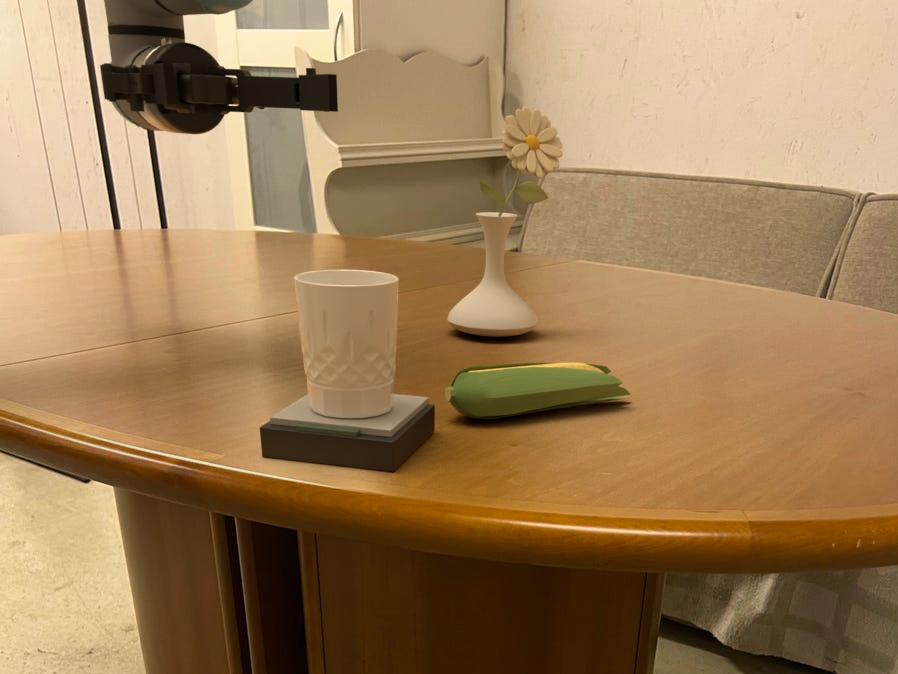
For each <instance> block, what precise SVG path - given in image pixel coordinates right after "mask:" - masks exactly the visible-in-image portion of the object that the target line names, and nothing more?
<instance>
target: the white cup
mask: <svg viewBox="0 0 898 674" xmlns="http://www.w3.org/2000/svg"><path fill="white" fill-rule="evenodd" d="M399 279H400V278H399V277H398V276H397V275H395V274H392V273H387V272H383V271H375V270H364V269H322V270H309V271H305V272H300V273H298V274H295V275H294V276H293V282H294V291H295V301H296V310H297V319H298V320H297V321H298V329H299V339H300V346H301V352H302V362H303V369H304V375H305V377H306V388H307V394H308V399H309V406H310V408H311V409H312V410H313V412H315V413H318V414H320V415H324V416H328V417H334V418H367V417H374V416H379V415H382V414H385V413H387V412H389V411H390V410H391V409H392V407H393V404H394V394H395V379H394V377H395V375H396V367H397V346H398V322H399V321H398V317H399V286H400V285H399V284H400V282H399V281H400V280H399Z"/></svg>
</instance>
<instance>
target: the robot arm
mask: <svg viewBox="0 0 898 674" xmlns="http://www.w3.org/2000/svg"><path fill="white" fill-rule="evenodd" d="M103 1H104V2H103V3H104V8H105V9H104V10H105V17H106V23H107V32H108V33H107V37H108V43H109V44H108V46H109V50H110V51H109V52H110V59H111V62H103V63H102V64H100V65H99V68H100V75H101V76H100V77H101V83H102V91H103V97H104V100H106V101H108V102H111V104H112V106H113V108H114V109H115V110H116V112H118V114H119V115H120V116H121V117H122V118H123V119H125V120H126V121H127V122H129V123H130V124H133V125H135V126H136V127H138V128H141V129H143V130H145V131H155V132H158V131H159V132H166V133H171V134H183V135H187V134H188V135H202V134H206V133H209V132H211V131H212V130H213V129H215V128H216V127H218V126H219V125H220V123H221V122H222V120H223V119H224V117H225V116H226V115H229V113H252V112H253V111H254V109H255V108H256V109H258V110H265V109H266V108H267V109H268V108H269V109H291V110H294V109H295V110H296V109H297V110H300V111H306V112H308V111H309V112H325V113H330V112H332V113H333V112H334V113H338V112H339V107H338V105H339V103H338V76H337V74H335V73H334V74H333V73H321V74H320V73H319V74H317V69H316V67H315V68H314V67H306V68H305V74H298V77H297V76H296V77H293V76H266V75H265V76H262V75H252V74H251V72H250V71H249V70H247V69H241V68H226V67H224V66H223V65H220V63H219V62H218V61H217V59H216V58H215V57H214V56H213V55H212V54H211V53H210V52H209V51H207V50H206V49H204V48H203V47H201V46H199V45H197V44H194V43H191V42H186V33H185V32H186V31H185V21H184V16H194V15H217V16H218V15H225V14H228V13H230V12H232V11H237V10H240V9H243V8H246V7H247V6H249V5H250V4H251V3H252V2H253V1H254V0H103Z"/></svg>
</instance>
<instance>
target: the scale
mask: <svg viewBox="0 0 898 674" xmlns="http://www.w3.org/2000/svg"><path fill="white" fill-rule="evenodd" d="M435 407H436V405H435V404H434V403H433V404H432V403H430V397H428V396H420V395H409V394H399V393H394V404H393V407H392V409H391V410H390V411H389V412H387V413H385V414H382V415H379V416H374V417H367V418H334V417H328V416H324V415H320V414H318V413H315V412H313V410H312V409H311V408H310V406H309V399H308V393H307V394H305V395H304V396H302V397H300V398H299V399H297V400H295V401H294V402H292V403H290V404H288V405H287V406H286V407H283V408H282V409H280V410H279V411H278V412H276V413H273V415H271V416H270V417H269V421H267V422H265V423H264V424H262V425H261V426H259V436H260V445H261V457H263V458H272V459H279V460H288V461H296V462H307V463H315V464H323V465H331V466H332V465H333V466H338V467H339V466H342V467H349V468H357V469H365V470H374V471H382V472H383V471H384V472H391V473H394V472H395V471H396V470H397V469H399V467H401V466H402V464H403V463H405V461H407V459H409V458H410V456H412V454H414V453H415V452H416V451H417V450H418V448H420V446H422V445H423V444H424V443H425V442H426V441H427V440H428V439H429V437H431V436H432V435H433V434H434V433H435V429H436V428H435V421H436V419H435V418H436V413H435V412H436V411H435V410H436V408H435Z"/></svg>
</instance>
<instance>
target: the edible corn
mask: <svg viewBox="0 0 898 674" xmlns="http://www.w3.org/2000/svg"><path fill="white" fill-rule="evenodd" d="M611 372H612V370H611V369H609V367H608V366H605V365H599V364H594V363H593V364H592V363H584V362H568V361H567V362H566V361H565V362H515V363H514V362H512V363H511V362H510V363H494V364H481V365H474V366H468V367H465V368H462V369H461V370H459V371H458V372H457V373H456V374H455V376H454V378H453V379H452V380H451V385H450V386H447V387H445V389H444V398H445V399H446V402H450V404H451V406H452V407H453V408H454V409H455V410H456V411H457V412H458V413H459V414H461V415H463V416H465V417H467V418H471V419H481V420H494V419H501V418H508V417H515V416H521V415H525V414H531V413H536V412H542V411H543V412H544V411H548V410H555V409H561V408H568V407H574V406H581V405H582V406H583V405H590V404H597V403H604V402H611V401H619V400H627V399H629V398H631V393H630V392H629V390H628V389H626V388H624V387H623V386H622V387H621V385H622V384H623V381H622V380H620V379H619V378H618V377H616V376H615V375H612V374H610V373H611Z"/></svg>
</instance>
